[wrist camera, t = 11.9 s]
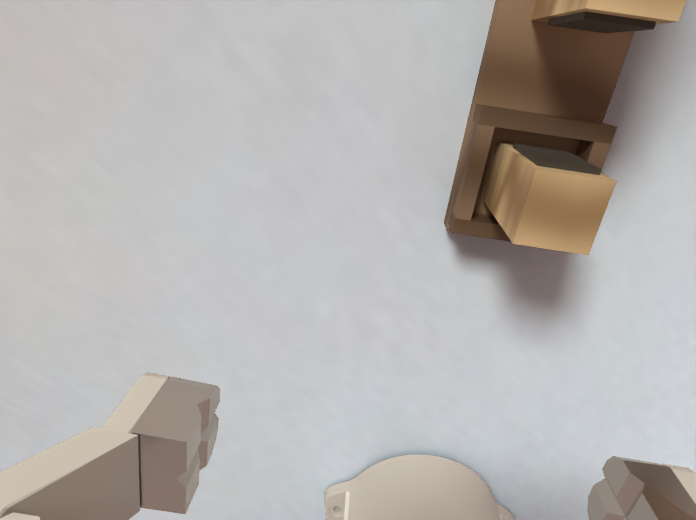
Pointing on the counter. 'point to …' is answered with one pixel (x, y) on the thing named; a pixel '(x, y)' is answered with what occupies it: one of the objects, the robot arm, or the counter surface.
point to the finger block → (547, 197)
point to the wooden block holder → (545, 89)
